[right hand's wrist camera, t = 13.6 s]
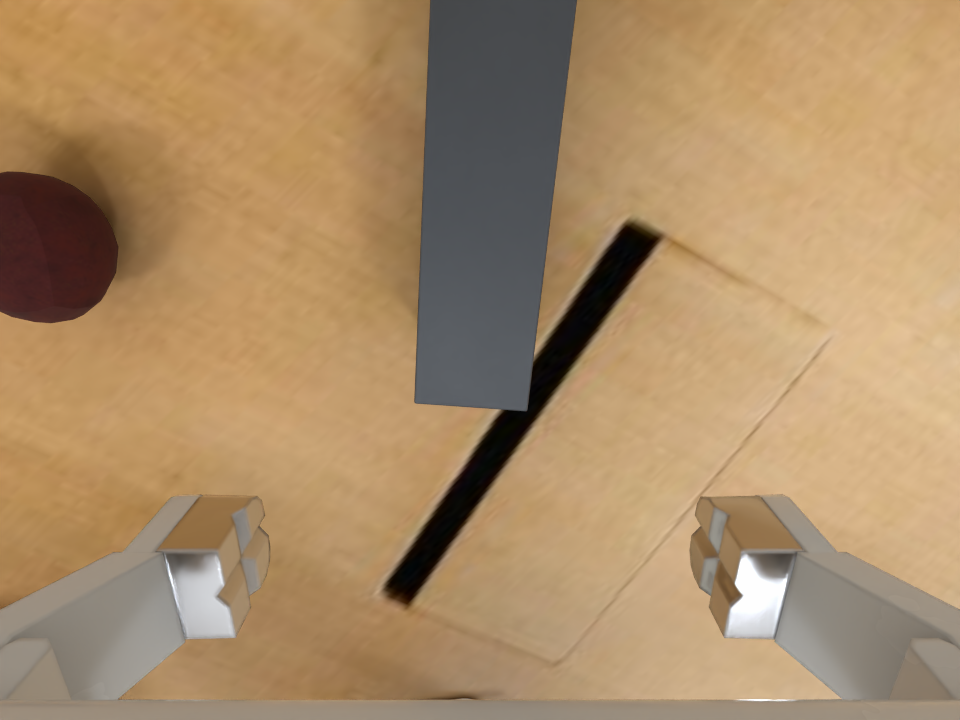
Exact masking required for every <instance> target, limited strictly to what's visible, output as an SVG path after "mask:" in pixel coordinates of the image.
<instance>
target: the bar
mask: <svg viewBox="0 0 960 720" xmlns="http://www.w3.org/2000/svg"><path fill="white" fill-rule="evenodd" d="M576 4H577V0H430V21H429V46H428V72H427V97H426V122H425V147H424V173H423V198H422V223H421V248H420V274H419V299H418V324H417V349H416V375H415V400H414V402H415V403H417V404H431V405H446V406H460V407H475V408H489V409H504V410H518V411H527V407H528V399H529V391H530V382H531V374H532V366H533V358H534V349H535V341H536V333H537V325H538V316H539V308H540V300H541V292H542V284H543V275H544V267H545V259H546V251H547V242H548V234H549V226H550V218H551V209H552V201H553V193H554V185H555V177H556V168H557V160H558V152H559V144H560V135H561V127H562V119H563V111H564V102H565V94H566V86H567V78H568V70H569V61H570V53H571V45H572V37H573V28H574V20H575V12H576Z"/></svg>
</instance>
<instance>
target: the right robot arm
mask: <svg viewBox="0 0 960 720" xmlns="http://www.w3.org/2000/svg"><path fill="white" fill-rule="evenodd" d="M264 516H265V513H264V508H263V503H262V500H261V499H260V498H259V497H258V496H232V495H204V496H203V495H177V496H173V497H171V498H170V499H169V500H168V501H167V502H166V503H165V505H164V506H163V507H162V508H161V509H160V510H159V511H158V512H157V514H156V515H155V516H154V517H153V518H152V519H151V520H150V522H149V523H148V524H147V525H146V526H145V527H144V528H143V529H142V531H141V532H140V533H139V534H138V535H137V536H136V537H135V538H134V540H133V541H132V542H131V543H130V544H129V545H128V546H127V547H126V549H125V550H124V551H123V552H113V553H111V554H109V555H107V556H105V557H103V558H101V559H99V560H97V561H95V562H93V563H91V564H89V565H87V566H85V567H83V568H81V569H79V570H77V571H75V572H73V573H71V574H69V575H67V576H65V577H64V578H62V579H60V580H58V581H56V582H54V583H52V584H50V585H48V586H46V587H44V588H42V589H40V590H38V591H36V592H34V593H32V594H30V595H28V596H26V597H24V598H22V599H20V600H18V601H16V602H14V603H12V604H10V605H8V606H6V607H4V608H2V609H0V720H960V610H959V609H958V608H956V607H954V606H952V605H950V604H948V603H946V602H944V601H942V600H940V599H938V598H936V597H934V596H932V595H930V594H928V593H926V592H924V591H922V590H920V589H918V588H916V587H914V586H912V585H910V584H908V583H906V582H904V581H902V580H900V579H898V578H896V577H894V576H892V575H890V574H888V573H886V572H885V571H883V570H881V569H879V568H877V567H875V566H873V565H871V564H869V563H867V562H865V561H863V560H861V559H859V558H857V557H855V556H853V555H851V554H849V553H847V552H837V551H836V550H835V549H834V548H833V546H832V545H831V544H830V543H829V542H828V541H827V540H826V538H825V537H824V536H823V535H822V534H821V533H820V532H819V531H818V529H817V528H816V527H815V526H814V525H813V524H812V523H811V522H810V520H809V519H808V518H807V517H806V516H805V515H804V514H803V513H802V511H801V510H800V509H799V508H798V507H797V506H796V505H795V503H794V502H793V501H792V500H791V499H790V498H789V497H787V496H785V495H783V494H781V495H755V496H716V497H700V499H699V501H698V503H697V507H696V512H695V516H696V518H697V520H698V522H699V523H700V525H701V526H700V527H699V528H698V529H697V530H696V531H695V532H694V533H693V534H692V536H691V544H690V561H691V568H692V571H693V575H694V578H695V580H696V582H697V584H698V586H699V588H700V589H702V590H703V591H704V592H706V593H707V594H709V595H710V596H711V598H710V604H709V608H710V610H711V612H712V614H713V616H714V618H715V620H716V622H717V624H718V626H719V628H720V630H721V632H722V634H723V636H724V638H748V639H775V642H776V643H777V644H778V645H779V646H780V647H782V648H783V649H784V650H785V651H786V652H787V653H789V654H790V655H791V656H792V657H793V658H795V659H796V660H797V661H798V662H799V663H800V664H802V665H803V666H804V667H805V668H806V669H808V670H809V671H810V672H811V673H812V674H813V675H815V676H816V677H817V678H818V679H819V680H820V681H822V682H823V683H824V684H825V685H826V686H828V687H829V688H830V689H831V690H832V691H833V692H835V693H836V694H837V695H838V696H839V697H841V698H842V699H834V700H564V699H550V700H473V699H468V698H462V699H454V700H117V699H118V698H120V697H121V696H122V695H123V694H124V693H125V692H127V691H128V690H129V689H130V688H131V687H133V686H134V685H135V684H136V683H137V682H139V681H140V680H141V679H142V678H143V677H144V676H146V675H147V674H148V673H149V672H150V671H152V670H153V669H154V668H155V667H156V666H157V665H159V664H160V663H161V662H162V661H163V660H165V659H166V658H167V657H168V656H169V655H170V654H172V653H173V652H174V651H175V650H176V649H178V648H179V647H180V646H181V645H182V644H183V643H185V639H212V638H236V636H237V634H238V632H239V630H240V628H241V626H242V624H243V622H244V620H245V618H246V616H247V614H248V612H249V610H250V608H251V604H250V598H249V596H250V595H251V594H253V593H254V592H256V591H257V590H258V589H260V588H261V586H262V584H263V582H264V580H265V577H266V575H267V571H268V566H269V562H270V542H269V536H268V534H267V533H266V532H265V531H264V530H263V529H262V528H261V527H260V526H259V525H260V523H261V522H262V520H263V518H264Z"/></svg>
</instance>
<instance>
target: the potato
mask: <svg viewBox="0 0 960 720" xmlns="http://www.w3.org/2000/svg"><path fill="white" fill-rule="evenodd" d="M117 256H118V245H117V242H116V239H115V236H114V233H113V230H112V227H111V226H110V224H109V222H108V220H107V219H106V217H105V215H104V214H103V212H102V210H101V209H100V208H99V207H98V206H97V205H96V204H95V203H94V202H93V201H92V200H91V198H90V197H88V196H87V195H86V194H84V193H83V192H81V191H80V190H79V189H77V188H76V187H74V186H72V185H70V184H68V183H66V182H63V181H61V180H59V179H56V178H54V177H50V176H45V175H39V174H32V173H25V172H3V173H0V312H2V313H5V314H7V315H9V316H11V317H15V318H19V319H24V320H28V321H33V322H43V323H55V322H61V321H67V320H73V319H75V318H78V317H80V316H82V315H84V314H85V313H86V312H88V311H89V310H90V309H91V308H93V307H94V306H95V305H96V304H98V303H99V302H100V301H101V300H102V298H103V297H104V295H105V293H106V291H107V289H108V287H109V285H110V283H111V281H112V279H113V277H114V275H115V273H116V266H117Z"/></svg>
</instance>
